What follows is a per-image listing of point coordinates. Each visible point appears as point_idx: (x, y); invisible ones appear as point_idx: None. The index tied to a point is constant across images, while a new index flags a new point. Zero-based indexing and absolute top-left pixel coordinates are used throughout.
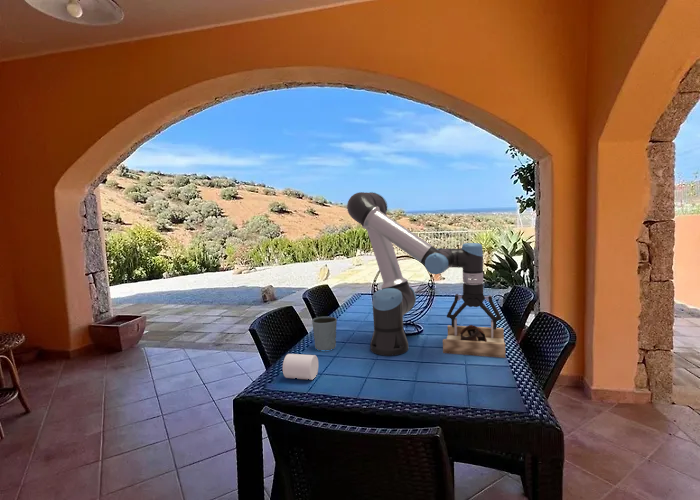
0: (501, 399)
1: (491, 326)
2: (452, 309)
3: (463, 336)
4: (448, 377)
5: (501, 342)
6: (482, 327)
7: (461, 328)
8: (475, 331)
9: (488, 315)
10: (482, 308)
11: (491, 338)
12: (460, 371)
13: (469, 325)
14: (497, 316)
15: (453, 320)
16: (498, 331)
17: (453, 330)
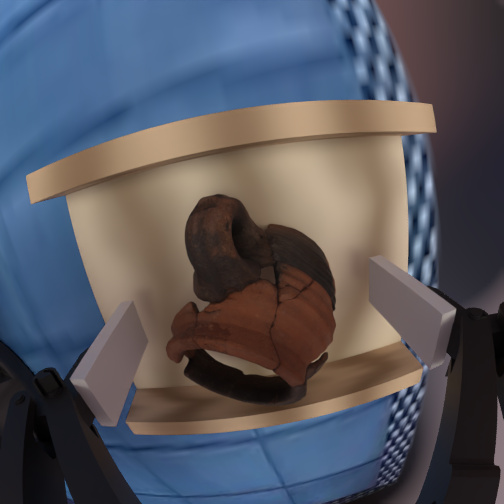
0: (346, 487)
1: (412, 345)
2: (59, 497)
3: (207, 388)
4: (237, 483)
5: (396, 209)
6: (293, 114)
7: (120, 172)
8: (289, 398)
9: (443, 413)
10: (421, 502)
11: (340, 152)
12: (256, 465)
13: (195, 240)
14: (497, 374)
15: (90, 407)
16: (400, 132)
17: (77, 188)
